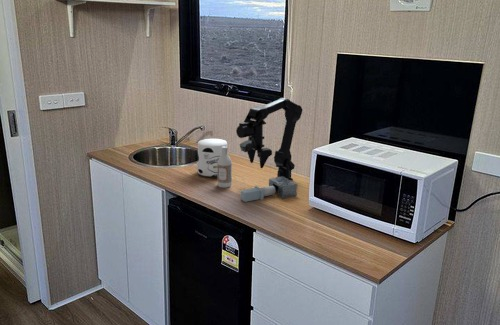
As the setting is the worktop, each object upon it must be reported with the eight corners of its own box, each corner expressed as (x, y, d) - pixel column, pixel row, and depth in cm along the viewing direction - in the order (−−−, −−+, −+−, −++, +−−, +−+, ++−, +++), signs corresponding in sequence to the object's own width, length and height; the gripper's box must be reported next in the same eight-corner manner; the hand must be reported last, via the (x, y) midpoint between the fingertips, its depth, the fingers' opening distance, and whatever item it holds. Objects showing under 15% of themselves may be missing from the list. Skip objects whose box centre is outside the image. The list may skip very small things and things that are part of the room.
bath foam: (215, 187, 216) (215, 148, 210) (220, 182, 222) (220, 144, 216) (228, 188, 214) (228, 149, 208) (233, 184, 220) (233, 145, 214)
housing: (282, 187, 216) (282, 176, 215) (296, 195, 206) (297, 183, 205) (268, 190, 213) (269, 178, 211) (282, 198, 203) (282, 186, 201)
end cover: (269, 192, 210) (269, 183, 208) (276, 196, 204) (276, 187, 203) (239, 198, 202) (239, 188, 200) (246, 203, 197) (246, 193, 195)
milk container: (217, 182, 223) (217, 148, 217) (190, 176, 231) (189, 143, 226) (235, 172, 237) (235, 140, 232) (208, 167, 245) (208, 136, 240)
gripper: (232, 132, 211) (232, 163, 216) (252, 141, 196) (252, 173, 201) (252, 129, 217) (252, 159, 222) (272, 137, 201) (272, 169, 206)
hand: (256, 165), depth 213 cm, fingers open, 9 cm apart
